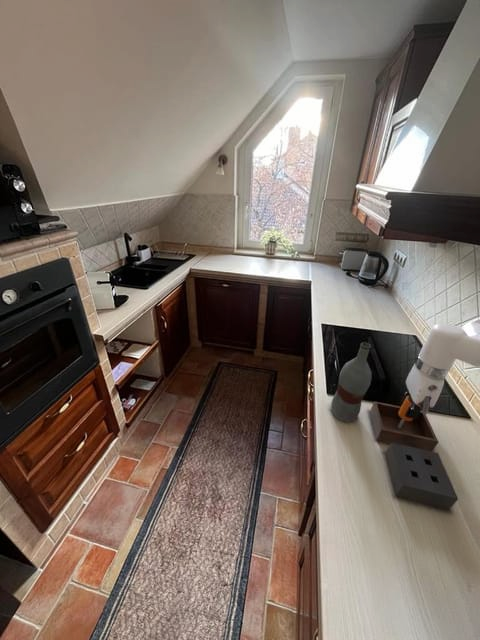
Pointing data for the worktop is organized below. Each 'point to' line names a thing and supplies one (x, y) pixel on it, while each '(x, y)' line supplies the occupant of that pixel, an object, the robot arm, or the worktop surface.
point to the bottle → (352, 386)
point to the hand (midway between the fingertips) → (408, 410)
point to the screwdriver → (405, 410)
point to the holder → (420, 476)
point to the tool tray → (402, 428)
